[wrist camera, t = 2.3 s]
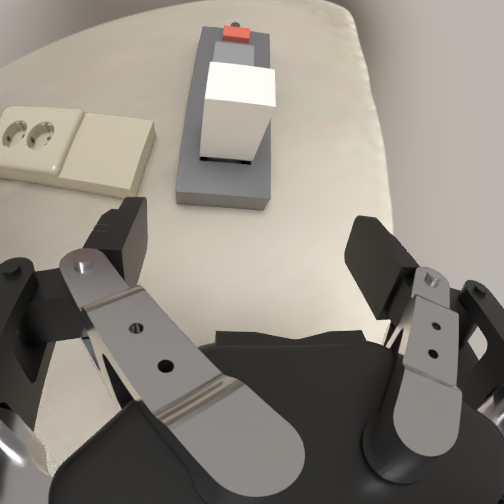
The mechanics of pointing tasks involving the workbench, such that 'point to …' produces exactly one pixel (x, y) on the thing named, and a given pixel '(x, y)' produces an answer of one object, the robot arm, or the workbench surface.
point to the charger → (236, 111)
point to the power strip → (190, 167)
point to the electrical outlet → (75, 149)
